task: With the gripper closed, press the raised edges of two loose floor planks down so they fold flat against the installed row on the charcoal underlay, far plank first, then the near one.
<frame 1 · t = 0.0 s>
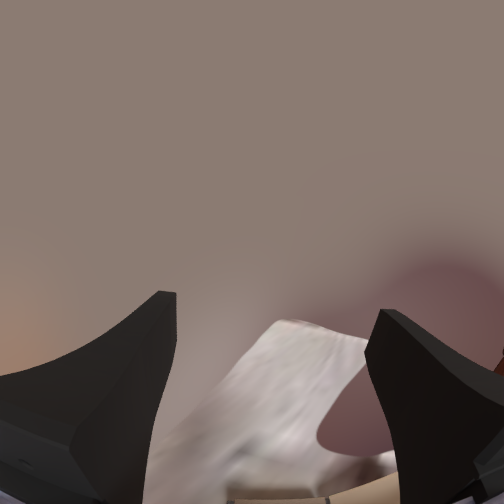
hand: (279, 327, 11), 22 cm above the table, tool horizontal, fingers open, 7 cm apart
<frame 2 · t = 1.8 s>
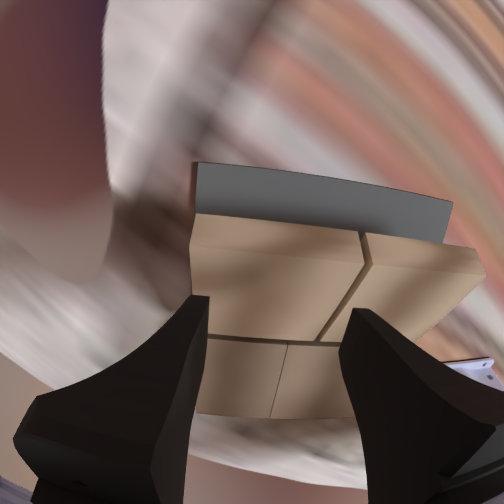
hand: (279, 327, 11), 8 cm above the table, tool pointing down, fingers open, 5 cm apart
installed row: (299, 369, 22), resting on underlay
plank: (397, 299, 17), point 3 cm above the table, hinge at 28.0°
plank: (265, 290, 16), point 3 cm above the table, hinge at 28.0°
underlay: (312, 315, 21), on the table
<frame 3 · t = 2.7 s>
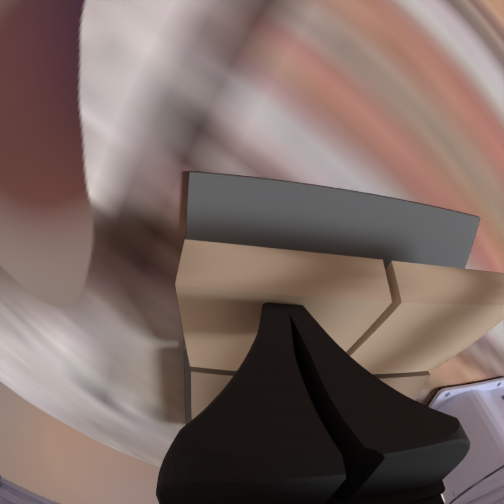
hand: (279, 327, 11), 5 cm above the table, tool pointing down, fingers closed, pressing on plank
installed row: (305, 399, 20), resting on underlay
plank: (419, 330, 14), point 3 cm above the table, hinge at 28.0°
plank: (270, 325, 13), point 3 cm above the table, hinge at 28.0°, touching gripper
underlay: (321, 344, 18), on the table
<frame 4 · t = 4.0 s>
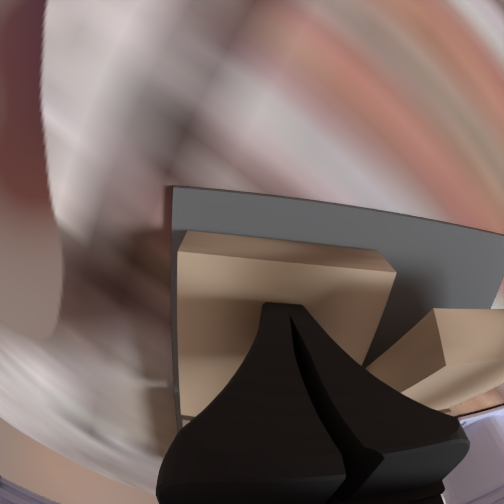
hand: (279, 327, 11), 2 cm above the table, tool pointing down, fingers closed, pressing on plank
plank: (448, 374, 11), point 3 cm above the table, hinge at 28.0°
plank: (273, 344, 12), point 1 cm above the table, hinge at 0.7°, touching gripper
underlay: (333, 384, 15), on the table
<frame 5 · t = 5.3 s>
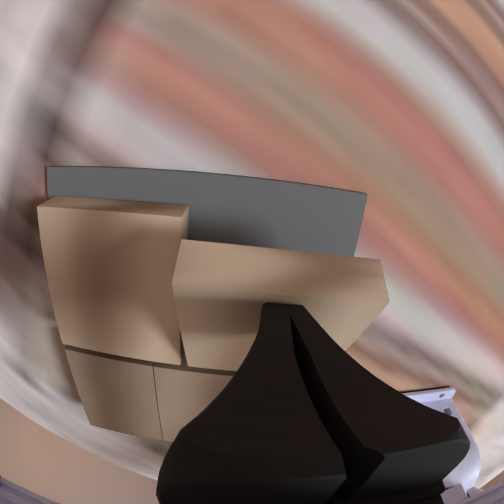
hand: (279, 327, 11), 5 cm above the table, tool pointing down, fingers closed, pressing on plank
installed row: (189, 392, 19), resting on underlay
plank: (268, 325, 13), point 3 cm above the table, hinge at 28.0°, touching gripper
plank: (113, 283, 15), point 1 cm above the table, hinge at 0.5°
underlay: (189, 334, 18), on the table
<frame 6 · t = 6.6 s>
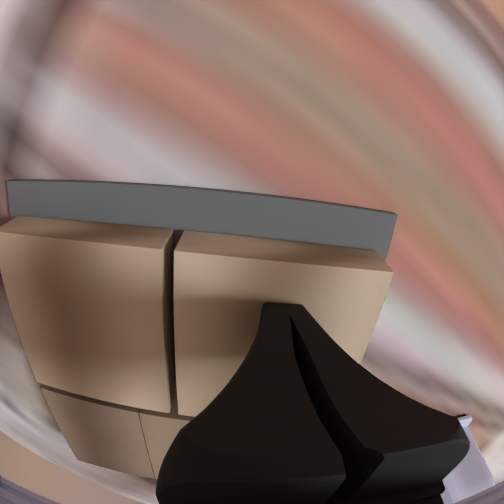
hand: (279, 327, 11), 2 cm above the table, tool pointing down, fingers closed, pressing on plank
installed row: (182, 432, 16), resting on underlay
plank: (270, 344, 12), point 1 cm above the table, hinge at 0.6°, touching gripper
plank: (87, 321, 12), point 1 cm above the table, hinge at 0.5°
underlay: (180, 375, 14), on the table
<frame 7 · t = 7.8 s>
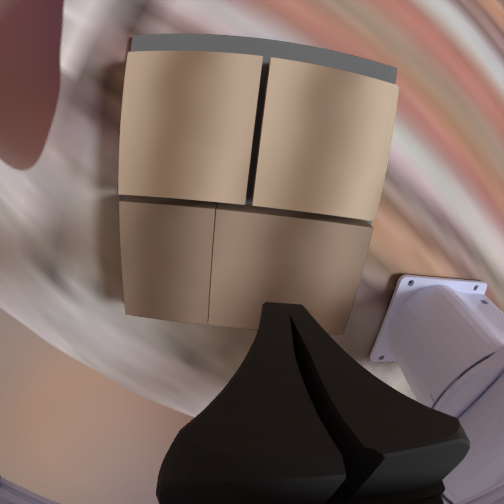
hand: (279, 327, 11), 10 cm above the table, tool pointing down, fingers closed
installed row: (240, 262, 20), resting on underlay
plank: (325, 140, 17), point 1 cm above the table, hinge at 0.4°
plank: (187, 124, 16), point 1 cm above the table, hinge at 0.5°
underlay: (249, 188, 19), on the table
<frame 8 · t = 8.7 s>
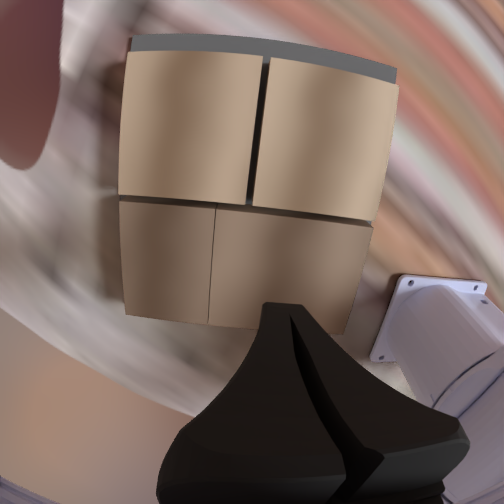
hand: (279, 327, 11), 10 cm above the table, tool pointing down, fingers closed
installed row: (240, 262, 20), resting on underlay
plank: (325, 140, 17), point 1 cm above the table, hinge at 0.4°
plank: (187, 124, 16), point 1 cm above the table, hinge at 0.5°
underlay: (249, 188, 19), on the table
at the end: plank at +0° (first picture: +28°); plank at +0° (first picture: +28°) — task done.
